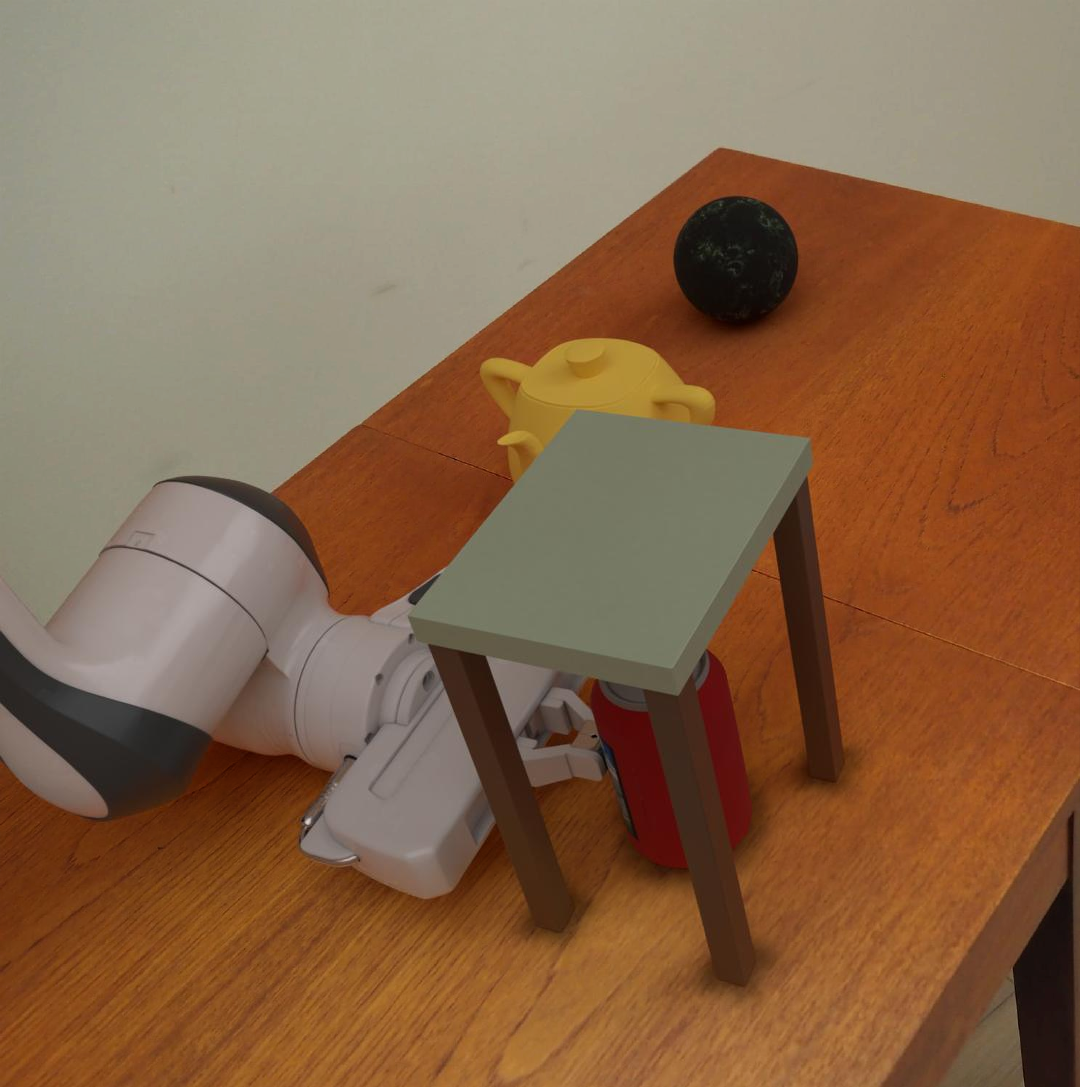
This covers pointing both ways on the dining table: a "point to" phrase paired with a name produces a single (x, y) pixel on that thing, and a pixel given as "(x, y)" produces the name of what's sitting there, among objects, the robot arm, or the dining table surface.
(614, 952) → the dining table surface
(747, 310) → the decorative stone
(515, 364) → the teapot
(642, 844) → the beverage can
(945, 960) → the dining table surface
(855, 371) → the dining table surface
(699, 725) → the side table
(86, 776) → the robot arm
